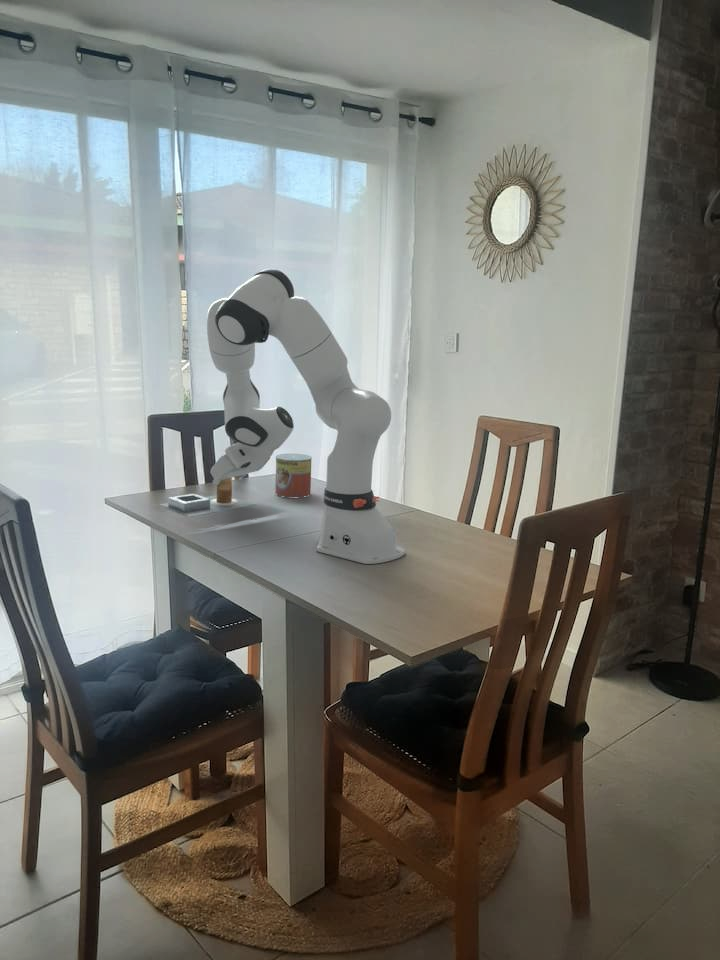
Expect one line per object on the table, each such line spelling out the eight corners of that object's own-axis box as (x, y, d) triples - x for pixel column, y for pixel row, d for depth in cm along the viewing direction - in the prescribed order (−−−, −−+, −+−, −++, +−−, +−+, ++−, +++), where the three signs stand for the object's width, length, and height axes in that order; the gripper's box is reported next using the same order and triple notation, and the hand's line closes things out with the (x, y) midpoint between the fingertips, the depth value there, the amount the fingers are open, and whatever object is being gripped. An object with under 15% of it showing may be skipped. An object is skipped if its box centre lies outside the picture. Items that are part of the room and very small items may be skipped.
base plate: (255, 508, 210) (255, 504, 210) (189, 520, 195) (189, 516, 195) (224, 497, 221) (224, 493, 221) (159, 508, 206) (159, 504, 206)
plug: (234, 501, 212) (235, 471, 210) (222, 504, 209) (222, 473, 207) (226, 498, 215) (226, 469, 213) (213, 501, 212) (213, 470, 210)
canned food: (267, 493, 228) (268, 456, 226) (291, 488, 238) (292, 452, 235) (294, 500, 222) (295, 461, 220) (317, 494, 231) (319, 457, 229)
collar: (210, 507, 205) (210, 499, 204) (184, 512, 199) (184, 503, 198) (194, 501, 210) (194, 493, 210) (168, 505, 205) (168, 497, 204)
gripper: (269, 438, 213) (242, 467, 220) (223, 448, 195) (196, 478, 202) (281, 455, 212) (254, 483, 218) (236, 466, 194) (208, 496, 201)
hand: (226, 481), depth 210 cm, fingers open, 8 cm apart
